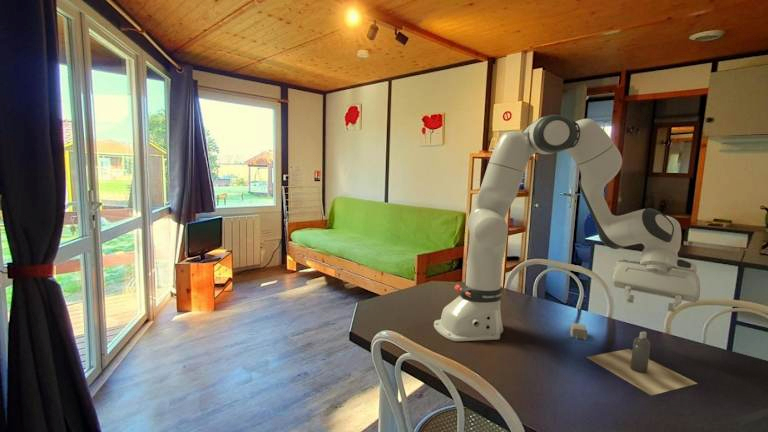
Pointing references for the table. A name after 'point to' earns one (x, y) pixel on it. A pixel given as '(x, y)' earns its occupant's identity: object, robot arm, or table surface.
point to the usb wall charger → (578, 331)
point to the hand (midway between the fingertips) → (649, 306)
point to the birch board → (649, 382)
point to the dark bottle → (640, 353)
